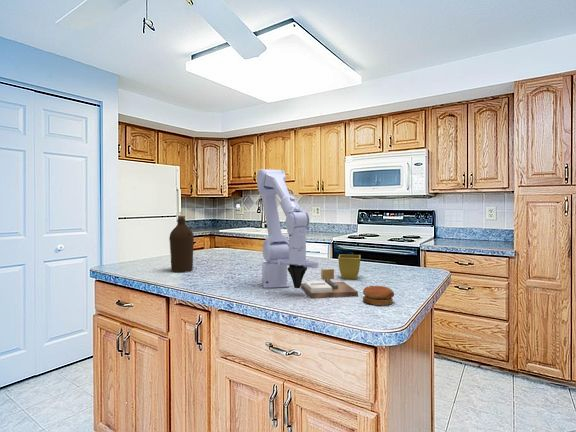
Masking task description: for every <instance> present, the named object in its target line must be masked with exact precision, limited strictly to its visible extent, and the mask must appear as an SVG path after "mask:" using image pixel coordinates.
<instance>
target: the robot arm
mask: <svg viewBox="0 0 576 432" xmlns="http://www.w3.org/2000/svg"><path fill="white" fill-rule="evenodd" d="M286 176H287V175H286V172H285V171H284V169H267V168H260V169H259V170H258V171H257V175H256V185H257V186H256V187H257V189H258V193H260V194H261V197H262V198H261V199H262V205H263V210H264V216H265V223H266V228H267V234H268V236H267V238H266V239H264V241H263V242H262V257H263V260H265V262H262V263H261V284H262V286H263V288H264V289H269V288H270V289H272V288H290V287H291V286H290V284H289V283H288V273H289V275H290V277H291V280H292V283H293V287H294V289H299V288H301V283H302V282H303V279H304V275H305V274H306V272H307V270H308V268H311V269H313V270H315V269H318V268H319V262H318V261H313V260H309V259H307V248H306V247H307V236H306V235H307V231H306V230H307V228H308V227H309V226H310V217H309V214H308V212H307V211H305V210H304V209H301V206H300V205H299V203H298V200H297V199H296V197H295V196H294V195H291V194H290V191H289V189H288V187H287V184H286V180H287V177H286ZM276 195H277V196H278V198H279V199H280V202H279V205H280V207H281V209H282V212H283V214H284V216H285V222H284V223H285V225H286V229H287V231H286V232H287V234H288V237H286V236H285V235H284V234H283V232H282V228H281V222H280V217H279V209H278V205H277V199H276Z"/></svg>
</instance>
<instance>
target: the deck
mask: <svg viewBox="0 0 576 432" xmlns="http://www.w3.org/2000/svg"><path fill="white" fill-rule="evenodd" d="M332 282H333V283H335V284H337V285H338V289H334V288H332V292H321V293H311V292H310V291H309V290H308V289H307V288H306V287H305V282H304V283H301V287H300V288H301V289H302V290H303V292H304V293H305V294H306V295H307V296H308V297H309V298H310V299H327V298H345V297H358V296H359V293H358V290H356V289H355V288H353V287H352V286H350V285H349V284H347V283H346V282H344V281H332Z"/></svg>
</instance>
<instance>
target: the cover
mask: <svg viewBox="0 0 576 432" xmlns="http://www.w3.org/2000/svg"><path fill="white" fill-rule="evenodd" d="M304 283H305V287H306V288H307V289H308V290H309V291H310V292H311V293H321V292H332V287H331V286H330V285H328V284H327V283H326V282H325V280H317V281H316V280H315V281H304Z"/></svg>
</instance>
